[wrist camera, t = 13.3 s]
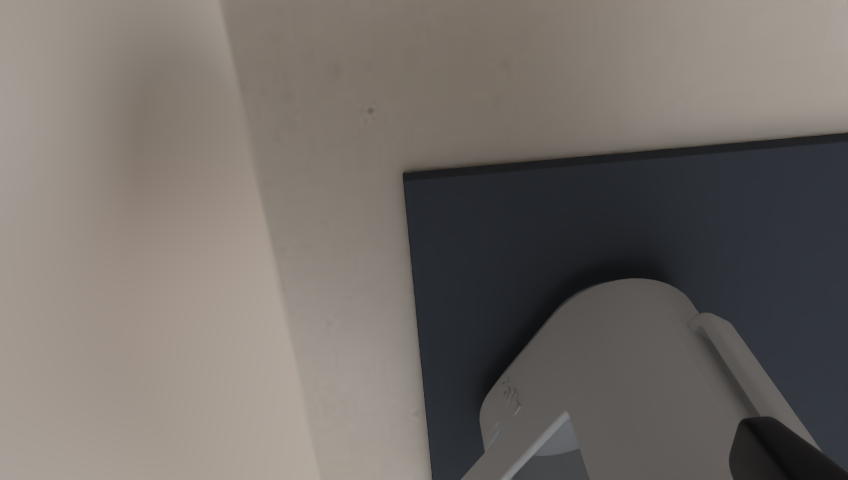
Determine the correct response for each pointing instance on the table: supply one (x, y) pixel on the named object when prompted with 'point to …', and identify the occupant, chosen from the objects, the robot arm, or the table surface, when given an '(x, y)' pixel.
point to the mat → (634, 266)
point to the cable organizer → (626, 392)
